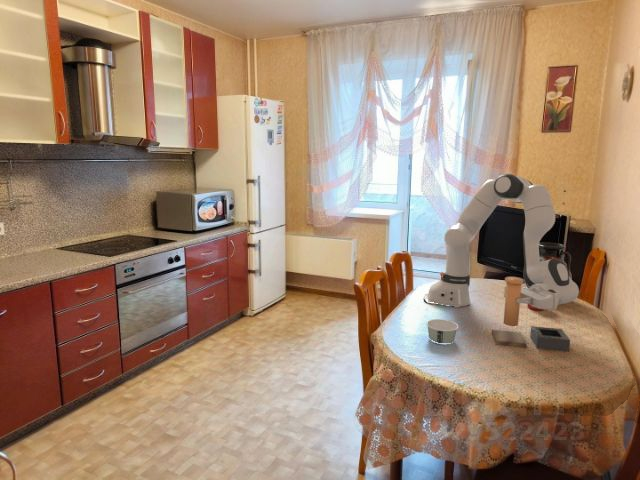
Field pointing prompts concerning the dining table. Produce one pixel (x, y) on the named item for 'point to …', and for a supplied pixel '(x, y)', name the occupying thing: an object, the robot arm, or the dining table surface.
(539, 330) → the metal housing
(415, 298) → the dining table surface
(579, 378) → the dining table surface
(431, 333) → the food container
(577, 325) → the dining table surface
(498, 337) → the walnut board
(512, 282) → the tan peg
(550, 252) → the amphora vase
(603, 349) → the dining table surface
